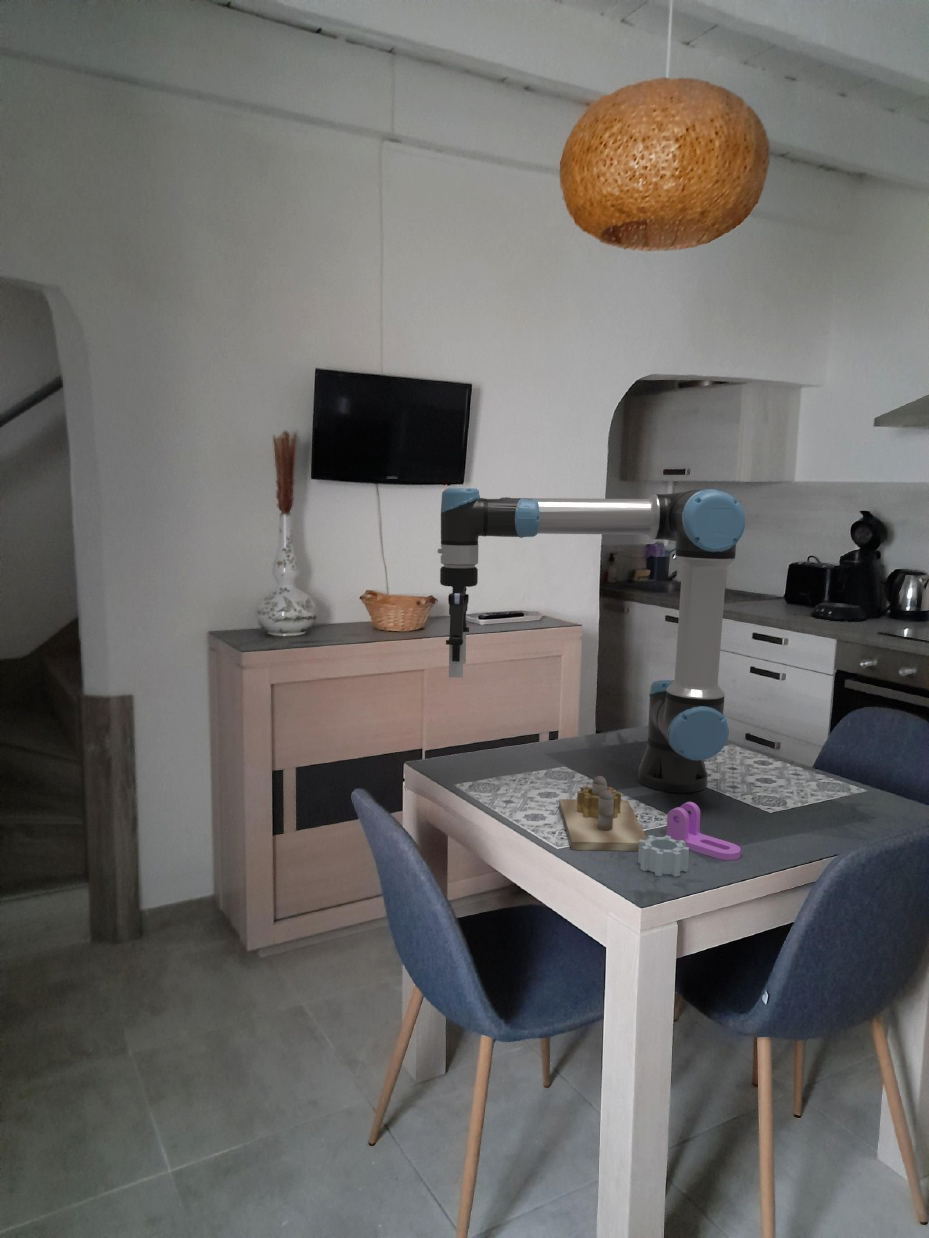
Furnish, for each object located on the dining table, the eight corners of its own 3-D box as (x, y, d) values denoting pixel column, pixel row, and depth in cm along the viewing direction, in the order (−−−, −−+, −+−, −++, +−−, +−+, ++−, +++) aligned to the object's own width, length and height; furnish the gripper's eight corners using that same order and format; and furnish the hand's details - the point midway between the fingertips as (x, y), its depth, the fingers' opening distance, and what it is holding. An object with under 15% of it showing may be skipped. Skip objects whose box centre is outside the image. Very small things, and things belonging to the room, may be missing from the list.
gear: (680, 857, 157) (681, 835, 157) (692, 877, 149) (693, 854, 148) (634, 856, 157) (635, 834, 157) (643, 876, 149) (644, 853, 148)
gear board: (627, 807, 181) (629, 766, 180) (649, 850, 160) (651, 804, 158) (559, 806, 181) (560, 764, 180) (571, 849, 160) (573, 802, 158)
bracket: (665, 842, 164) (667, 806, 163) (681, 834, 168) (683, 799, 167) (731, 863, 155) (733, 826, 154) (745, 854, 159) (748, 817, 158)
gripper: (444, 560, 189) (443, 657, 192) (435, 571, 164) (434, 682, 168) (479, 561, 189) (477, 658, 192) (476, 572, 164) (474, 683, 167)
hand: (457, 670), depth 180 cm, fingers open, 13 cm apart
